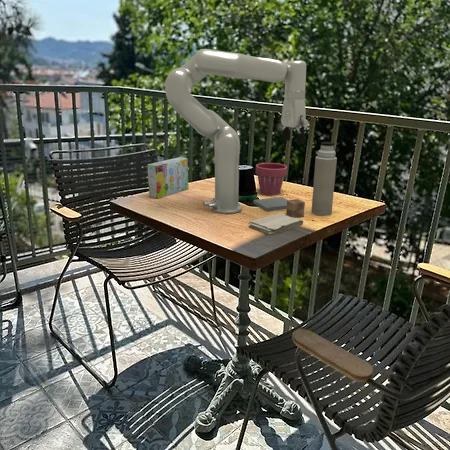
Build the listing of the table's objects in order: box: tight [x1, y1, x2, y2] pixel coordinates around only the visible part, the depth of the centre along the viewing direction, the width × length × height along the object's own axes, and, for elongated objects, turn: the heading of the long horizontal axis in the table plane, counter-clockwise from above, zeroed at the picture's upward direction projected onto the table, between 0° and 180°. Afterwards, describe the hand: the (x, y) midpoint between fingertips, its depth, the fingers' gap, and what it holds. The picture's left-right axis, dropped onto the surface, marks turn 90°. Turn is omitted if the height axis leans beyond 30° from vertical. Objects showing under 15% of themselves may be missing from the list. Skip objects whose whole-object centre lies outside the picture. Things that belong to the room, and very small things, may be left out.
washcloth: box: [248, 213, 304, 235], centre depth 158 cm, size 12×18×3 cm, turn 132°
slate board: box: [252, 196, 288, 212], centre depth 182 cm, size 14×12×2 cm
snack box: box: [146, 156, 190, 200], centre depth 197 cm, size 21×6×15 cm, turn 144°
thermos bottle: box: [311, 141, 338, 217], centre depth 169 cm, size 8×8×28 cm
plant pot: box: [255, 162, 288, 196], centre depth 199 cm, size 14×14×13 cm
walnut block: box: [285, 198, 306, 219], centre depth 168 cm, size 5×5×6 cm
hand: (293, 142), depth 167 cm, fingers open, 9 cm apart
